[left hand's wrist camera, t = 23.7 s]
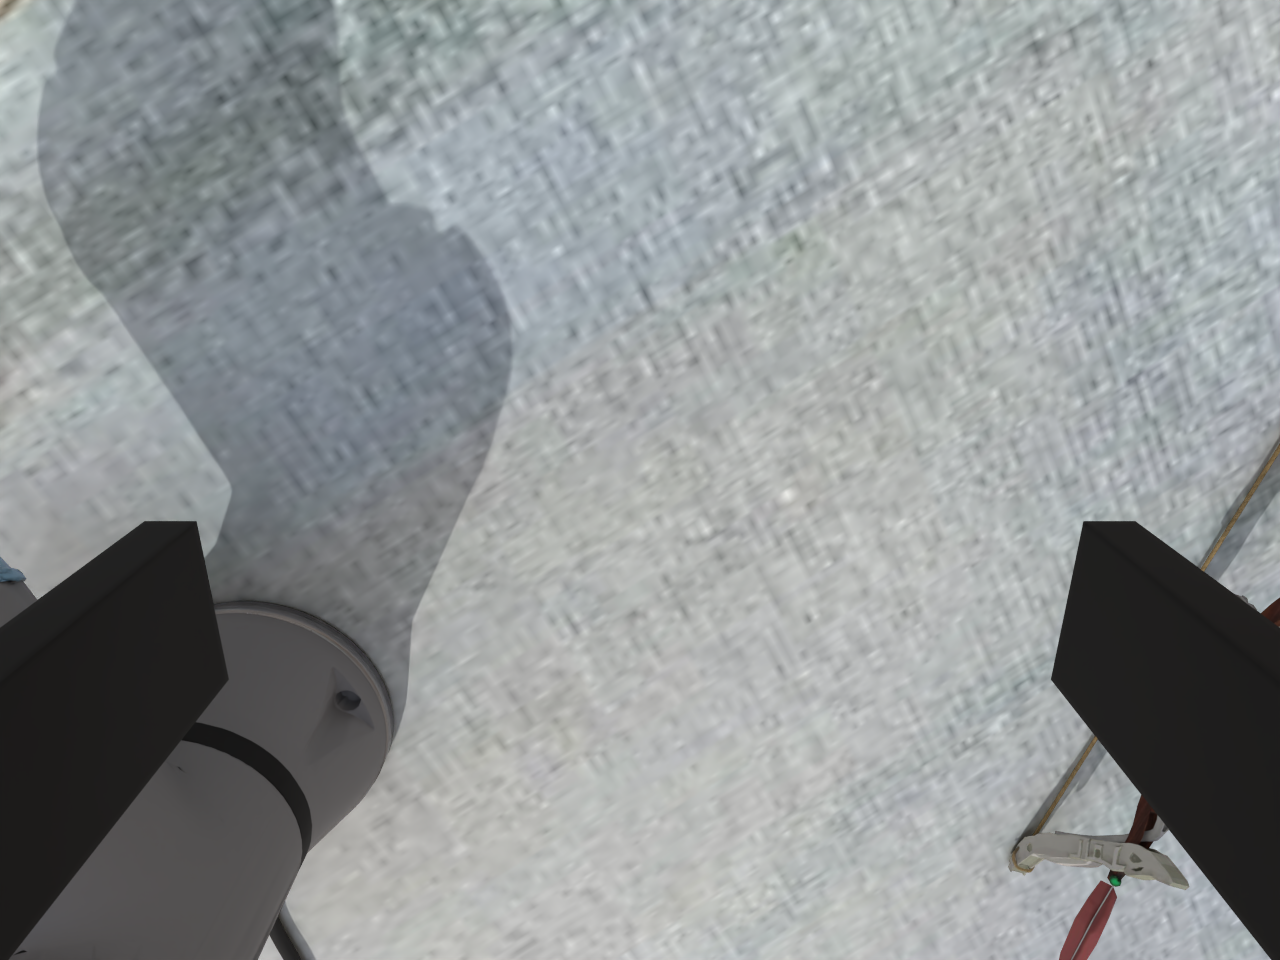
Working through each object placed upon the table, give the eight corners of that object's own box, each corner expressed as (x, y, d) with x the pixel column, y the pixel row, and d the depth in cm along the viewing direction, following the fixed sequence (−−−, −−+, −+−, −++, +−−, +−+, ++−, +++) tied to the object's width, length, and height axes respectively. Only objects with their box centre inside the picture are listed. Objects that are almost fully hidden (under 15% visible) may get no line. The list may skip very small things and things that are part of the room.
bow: (1330, 331, 42) (1524, 381, 33) (1361, 342, 43) (1563, 394, 33) (985, 885, 56) (1054, 1033, 46) (1010, 892, 56) (1084, 1040, 46)
